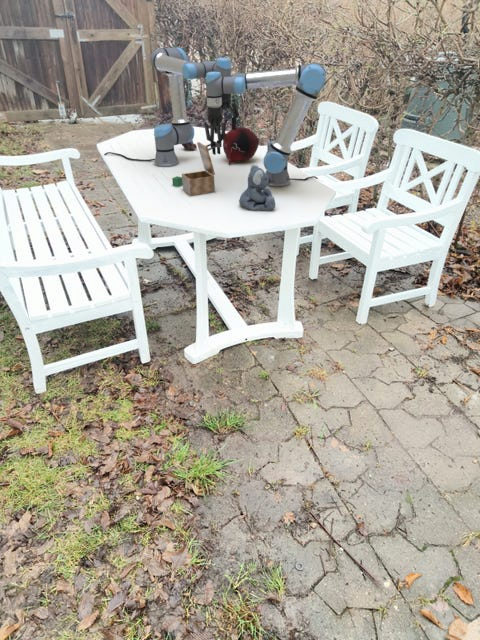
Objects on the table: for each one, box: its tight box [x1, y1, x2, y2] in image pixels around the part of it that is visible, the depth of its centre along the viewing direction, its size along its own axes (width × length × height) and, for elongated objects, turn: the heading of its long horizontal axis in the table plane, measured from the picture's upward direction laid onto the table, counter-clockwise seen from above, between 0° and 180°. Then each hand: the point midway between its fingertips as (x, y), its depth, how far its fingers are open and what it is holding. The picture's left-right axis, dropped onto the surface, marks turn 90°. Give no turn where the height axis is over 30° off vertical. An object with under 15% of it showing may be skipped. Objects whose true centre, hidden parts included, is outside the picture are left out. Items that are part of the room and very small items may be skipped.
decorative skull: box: [222, 126, 260, 166], centre depth 295 cm, size 21×24×25 cm
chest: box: [181, 170, 216, 197], centre depth 247 cm, size 14×12×9 cm
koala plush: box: [238, 164, 276, 211], centre depth 224 cm, size 17×18×20 cm
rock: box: [181, 139, 198, 151], centre depth 322 cm, size 12×9×10 cm
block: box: [171, 176, 183, 188], centre depth 257 cm, size 4×4×4 cm
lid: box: [196, 140, 221, 176], centre depth 243 cm, size 15×12×9 cm
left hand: (225, 131), depth 258 cm, fingers open, 13 cm apart
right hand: (216, 153), depth 243 cm, fingers closed on lid, 2 cm apart
